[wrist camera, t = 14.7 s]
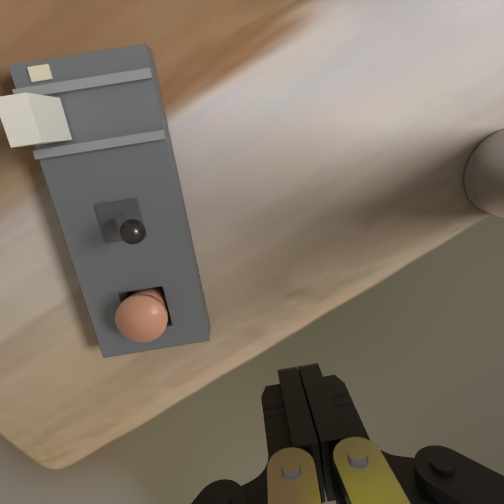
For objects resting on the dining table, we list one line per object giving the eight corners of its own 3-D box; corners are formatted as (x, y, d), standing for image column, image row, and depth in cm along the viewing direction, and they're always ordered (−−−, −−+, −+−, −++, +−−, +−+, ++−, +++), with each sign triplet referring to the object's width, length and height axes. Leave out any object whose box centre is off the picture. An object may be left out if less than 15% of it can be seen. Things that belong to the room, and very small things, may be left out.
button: (167, 275, 43) (160, 293, 38) (177, 315, 44) (171, 337, 40) (121, 282, 43) (109, 301, 38) (133, 323, 44) (122, 345, 40)
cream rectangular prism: (60, 97, 34) (26, 92, 28) (72, 139, 35) (41, 142, 29) (32, 102, 34) (-7, 97, 28) (46, 143, 35) (10, 147, 29)
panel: (151, 50, 36) (143, 42, 32) (210, 327, 46) (208, 344, 42) (25, 70, 36) (3, 64, 32) (111, 343, 45) (101, 361, 42)
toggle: (130, 208, 37) (145, 218, 32) (136, 230, 38) (151, 242, 32) (107, 214, 36) (118, 224, 31) (113, 236, 37) (125, 250, 32)
